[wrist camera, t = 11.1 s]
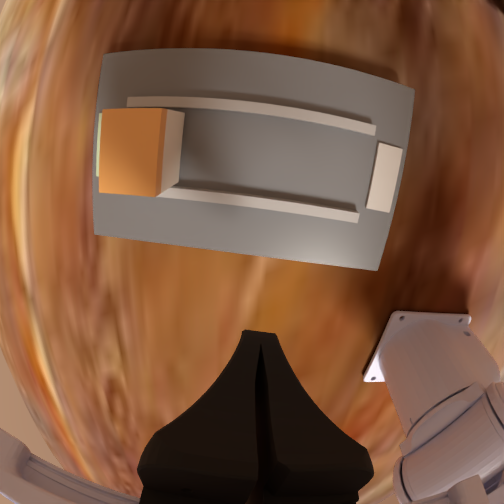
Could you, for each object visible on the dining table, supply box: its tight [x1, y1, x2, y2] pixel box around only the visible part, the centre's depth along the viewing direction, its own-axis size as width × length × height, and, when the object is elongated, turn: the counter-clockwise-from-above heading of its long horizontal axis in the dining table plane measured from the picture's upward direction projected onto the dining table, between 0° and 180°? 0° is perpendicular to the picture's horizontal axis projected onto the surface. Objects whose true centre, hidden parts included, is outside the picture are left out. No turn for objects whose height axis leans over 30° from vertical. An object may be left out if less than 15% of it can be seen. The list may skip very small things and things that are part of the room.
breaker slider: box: [99, 108, 185, 197], centre depth 14 cm, size 3×4×4 cm
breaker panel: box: [93, 48, 415, 271], centre depth 17 cm, size 19×12×3 cm, turn 83°
